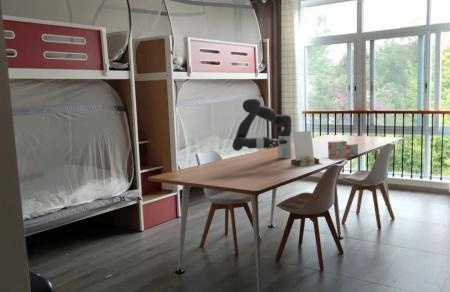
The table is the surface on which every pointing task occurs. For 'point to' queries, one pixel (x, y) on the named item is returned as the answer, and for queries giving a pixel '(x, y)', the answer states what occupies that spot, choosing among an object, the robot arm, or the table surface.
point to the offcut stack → (307, 161)
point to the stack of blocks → (342, 149)
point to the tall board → (303, 144)
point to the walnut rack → (297, 163)
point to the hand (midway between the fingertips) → (285, 141)
